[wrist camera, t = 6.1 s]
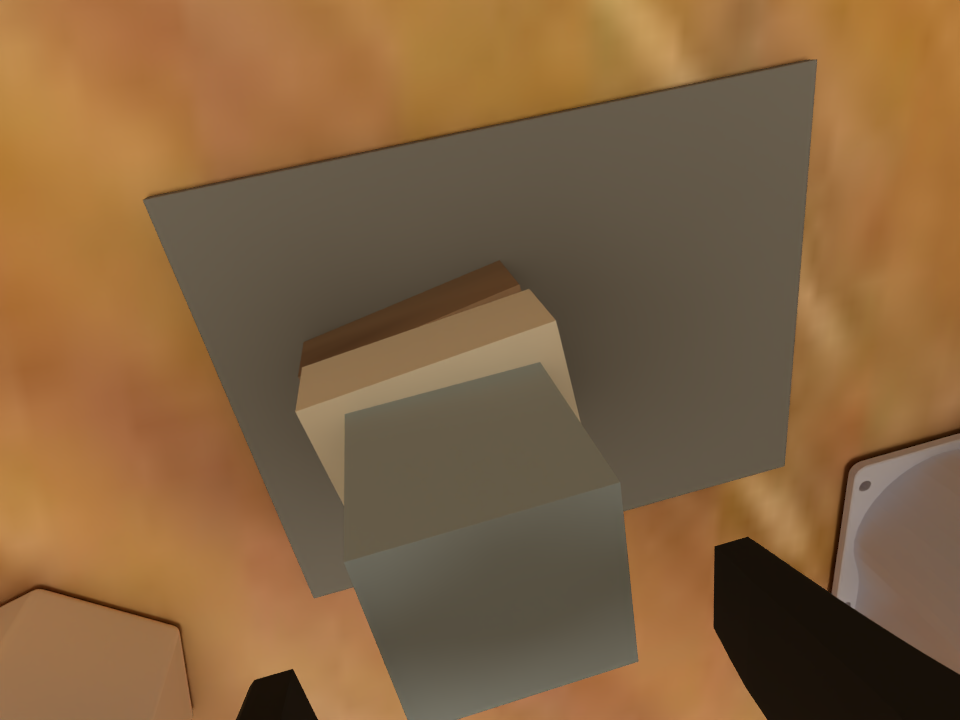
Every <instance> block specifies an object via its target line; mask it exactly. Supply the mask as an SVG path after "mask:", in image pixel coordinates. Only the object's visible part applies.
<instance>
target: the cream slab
mask: <svg viewBox="0 0 960 720" xmlns="http://www.w3.org/2000/svg"><path fill="white" fill-rule="evenodd" d="M538 362H540V363H541V364H542V366H543V367H544V369H545V370H546V372H547V373H548V375H549V376H550V378H551V379H552V381H553V382H554V384H555V385H556V387H557V388H558V390H559V391H560V393H561V394H562V396H563V397H564V399H565V400H566V402H567V403H568V405H569V406H570V408H571V409H572V411H573V412H574V414H575V415H576V417H577V418H578V420H579V421H580V417H579V413H578V409H577V405H576V401H575V397H574V393H573V388H572V384H571V380H570V376H569V372H568V368H567V364H566V360H565V355H564V351H563V347H562V343H561V339H560V335H559V331H558V327H557V323H556V320H555V319H554V318H553V316H552V315H551V314H550V313H549V312H548V310H547V309H546V308H545V307H544V306H543V305H542V303H541V302H540V301H539V300H538V299H537V297H536V296H535V295H534V294H533V293H532V291H531V290H530V289H527V290H524V291H521V292H518V293H515V294H512V295H510V296H507V297H504V298H501V299H498V300H495V301H492V302H489V303H486V304H484V305H481V306H478V307H475V308H472V309H469V310H466V311H463V312H461V313H458V314H455V315H452V316H449V317H446V318H443V319H440V320H437V321H435V322H432V323H429V324H426V325H423V326H420V327H417V328H414V329H411V330H409V331H406V332H403V333H400V334H397V335H394V336H391V337H388V338H385V339H383V340H380V341H377V342H374V343H371V344H368V345H365V346H362V347H359V348H357V349H354V350H351V351H348V352H345V353H342V354H339V355H336V356H333V357H331V358H328V359H325V360H322V361H319V362H316V363H313V364H310V365H307V366H305V367H302V371H301V378H300V384H299V391H298V397H297V404H296V410H295V412H296V414H297V416H298V418H299V420H300V422H301V424H302V426H303V428H304V430H305V432H306V434H307V435H308V437H309V439H310V441H311V443H312V445H313V447H314V449H315V451H316V453H317V455H318V457H319V459H320V461H321V463H322V464H323V466H324V468H325V470H326V472H327V474H328V476H329V478H330V480H331V482H332V484H333V486H334V488H335V490H336V492H337V493H338V495H339V497H340V499H341V501H342V503H343V505H344V449H345V414H347V413H351V412H355V411H358V410H362V409H366V408H370V407H373V406H377V405H381V404H385V403H388V402H392V401H396V400H400V399H403V398H407V397H411V396H415V395H418V394H422V393H426V392H430V391H433V390H437V389H441V388H445V387H448V386H452V385H456V384H460V383H463V382H467V381H471V380H475V379H478V378H482V377H486V376H490V375H493V374H497V373H501V372H505V371H508V370H512V369H516V368H520V367H523V366H527V365H531V364H535V363H538ZM580 423H581V421H580Z"/></svg>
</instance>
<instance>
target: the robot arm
mask: <svg viewBox="0 0 960 720" xmlns="http://www.w3.org/2000/svg"><path fill="white" fill-rule="evenodd" d="M714 629H715V631H716V633H717V635H718V637H719V639H720V640H721V642H722V644H723V646H724V648H725V650H726V652H727V654H728V656H729V658H730V660H731V661H732V663H733V665H734V667H735V669H736V670H737V672H738V674H739V676H740V678H741V679H742V681H743V683H744V685H745V687H746V688H747V690H748V691H749V693H750V694H751V696H752V697H753V699H754V700H755V702H756V703H757V705H758V706H759V708H760V709H761V711H762V712H763V714H764V715H765V717H766V718H767V720H960V433H958V434H955V435H951V436H948V437H944V438H941V439H937V440H934V441H930V442H927V443H923V444H920V445H916V446H913V447H909V448H906V449H902V450H899V451H895V452H892V453H888V454H885V455H881V456H877V457H874V458H870V459H867V460H863V461H860V462H858V463H856V464H855V465H853V466H852V468H851V469H850V471H849V475H848V482H847V489H846V496H845V503H844V510H843V517H842V524H841V531H840V538H839V545H838V552H837V559H836V566H835V573H834V580H833V587H832V594H831V593H829V592H828V591H826V590H825V589H824V588H822V587H821V586H819V585H818V584H816V583H815V582H813V581H812V580H810V579H809V578H807V577H806V576H804V575H803V574H802V573H800V572H799V571H797V570H796V569H794V568H793V567H791V566H790V565H788V564H787V563H786V562H784V561H783V560H781V559H780V558H778V557H777V556H775V555H774V554H773V553H771V552H770V551H768V550H767V549H765V548H764V547H762V546H761V545H759V544H758V543H756V542H755V541H754V540H752V539H750V538H749V537H746V538H742V539H739V540H735V541H732V542H728V543H725V544H722V545H718V546H715V561H714ZM236 720H318V719H317V717H316V715H315V713H314V711H313V709H312V707H311V705H310V703H309V701H308V699H307V697H306V695H305V693H304V691H303V689H302V687H301V685H300V682H299V680H298V678H297V676H296V674H295V672H294V670H293V669H291V670H288V671H284V672H281V673H277V674H274V675H270V676H267V677H263V678H260V679H257V680H254V682H253V683H252V684H251V686H250V687H249V690H248V692H247V695H246V697H245V700H244V702H243V704H242V707H241V709H240V712H239V714H238V716H237V719H236Z"/></svg>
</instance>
